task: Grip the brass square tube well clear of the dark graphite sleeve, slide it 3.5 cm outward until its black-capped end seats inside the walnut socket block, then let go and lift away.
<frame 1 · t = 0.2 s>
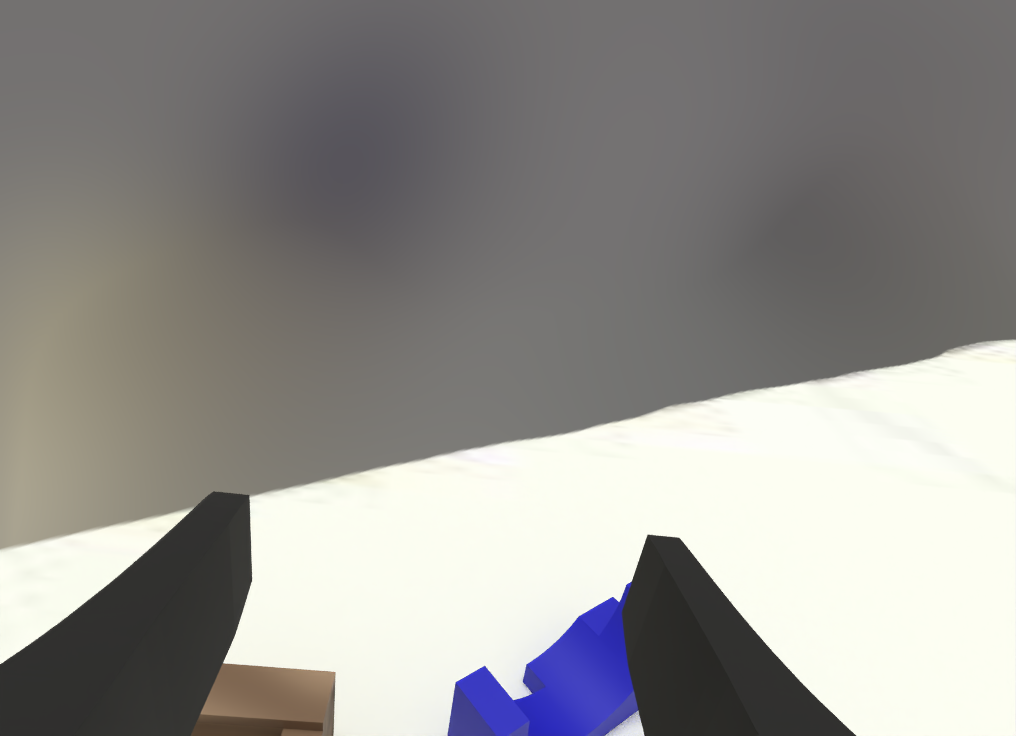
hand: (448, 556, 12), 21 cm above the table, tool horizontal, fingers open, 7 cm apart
cable clip: (550, 720, 34), on the table
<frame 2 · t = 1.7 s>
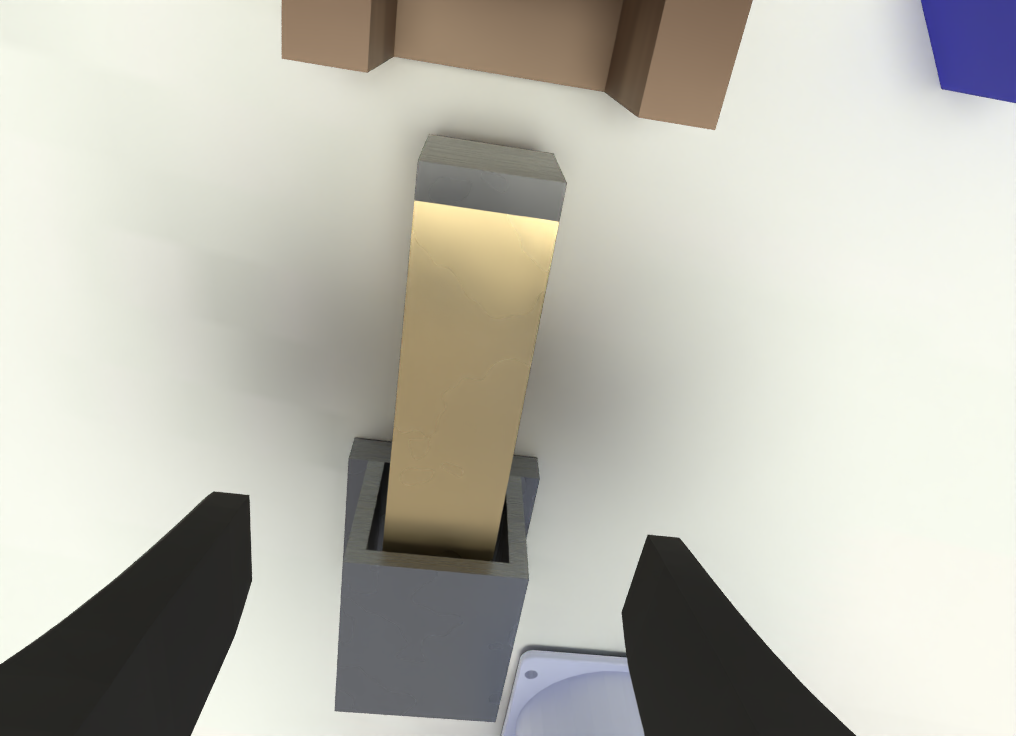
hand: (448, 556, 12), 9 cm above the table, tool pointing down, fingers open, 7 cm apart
sleeve: (437, 518, 23), on the table
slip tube: (453, 430, 18), point 3 cm above the table, slide at 0.0 cm
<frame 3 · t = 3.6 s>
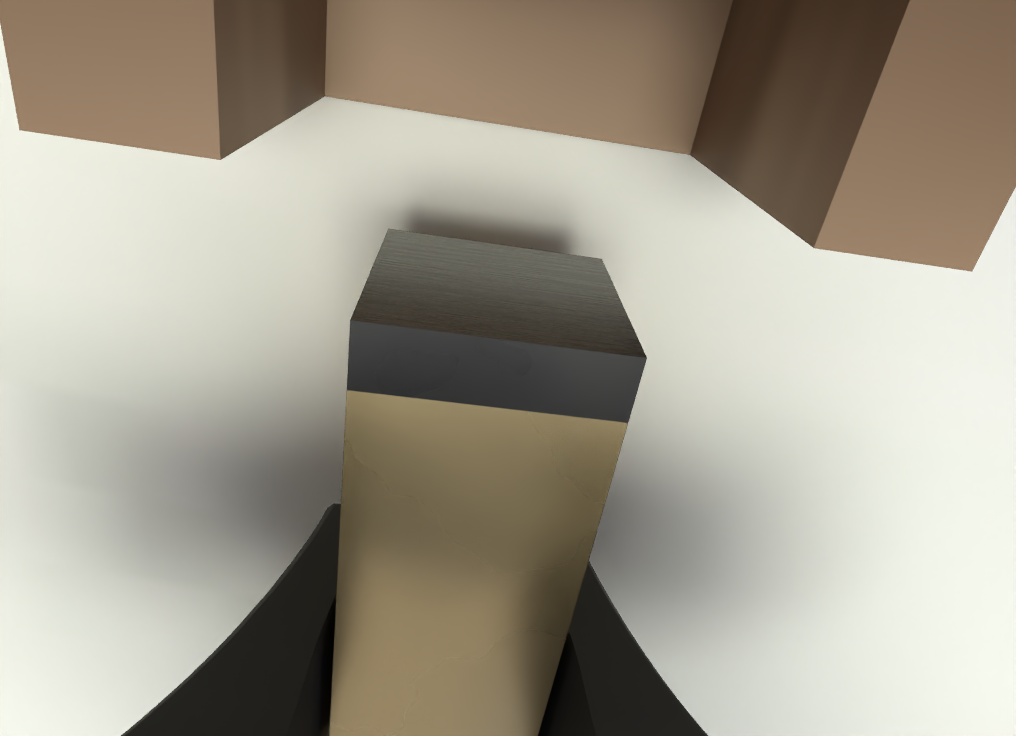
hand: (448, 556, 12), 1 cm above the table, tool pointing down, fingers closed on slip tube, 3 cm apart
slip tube: (435, 679, 11), point 3 cm above the table, slide at 0.0 cm, touching gripper
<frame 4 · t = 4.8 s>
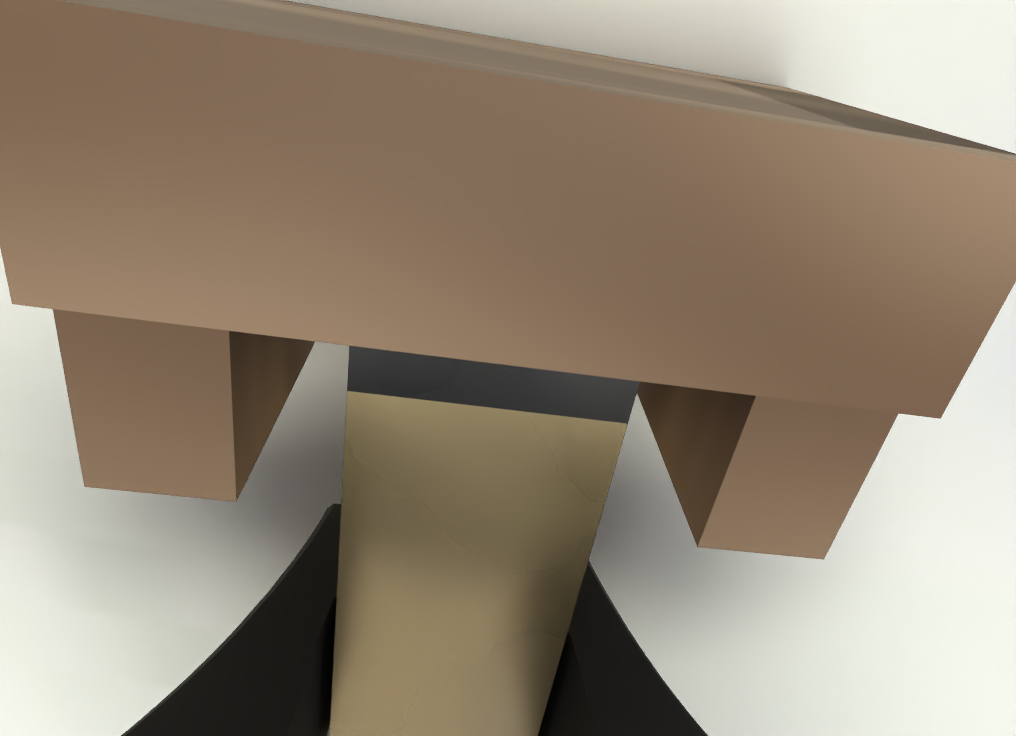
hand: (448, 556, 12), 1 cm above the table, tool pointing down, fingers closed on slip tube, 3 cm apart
socket block: (497, 198, 11), on the table
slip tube: (435, 679, 11), point 3 cm above the table, slide at 3.5 cm, touching gripper
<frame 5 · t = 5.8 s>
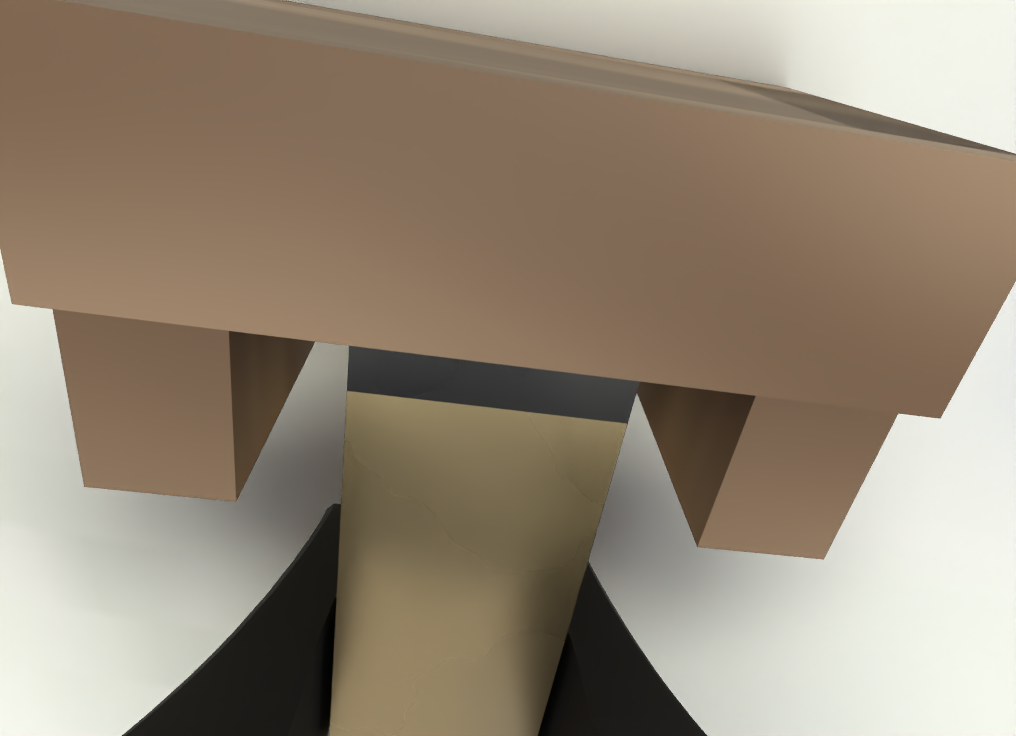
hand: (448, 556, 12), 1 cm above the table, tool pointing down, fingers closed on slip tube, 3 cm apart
socket block: (497, 198, 11), on the table
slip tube: (435, 679, 11), point 3 cm above the table, slide at 3.5 cm, touching gripper
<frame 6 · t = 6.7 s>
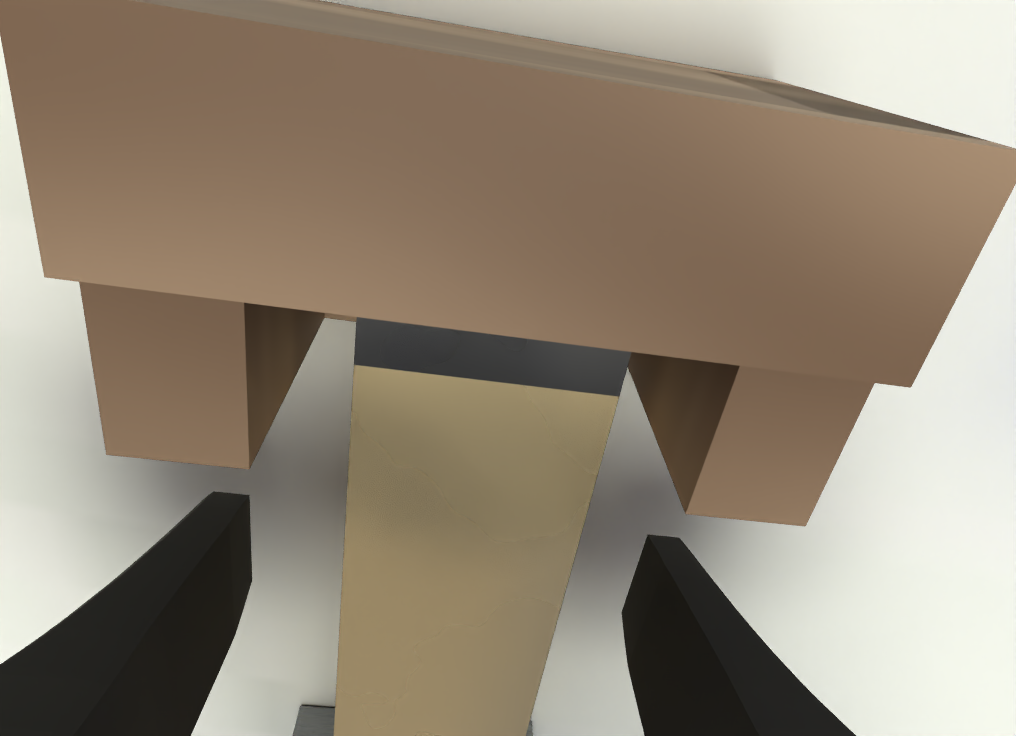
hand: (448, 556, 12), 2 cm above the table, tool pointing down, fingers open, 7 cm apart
socket block: (496, 187, 11), on the table
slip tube: (436, 651, 12), point 3 cm above the table, slide at 3.5 cm
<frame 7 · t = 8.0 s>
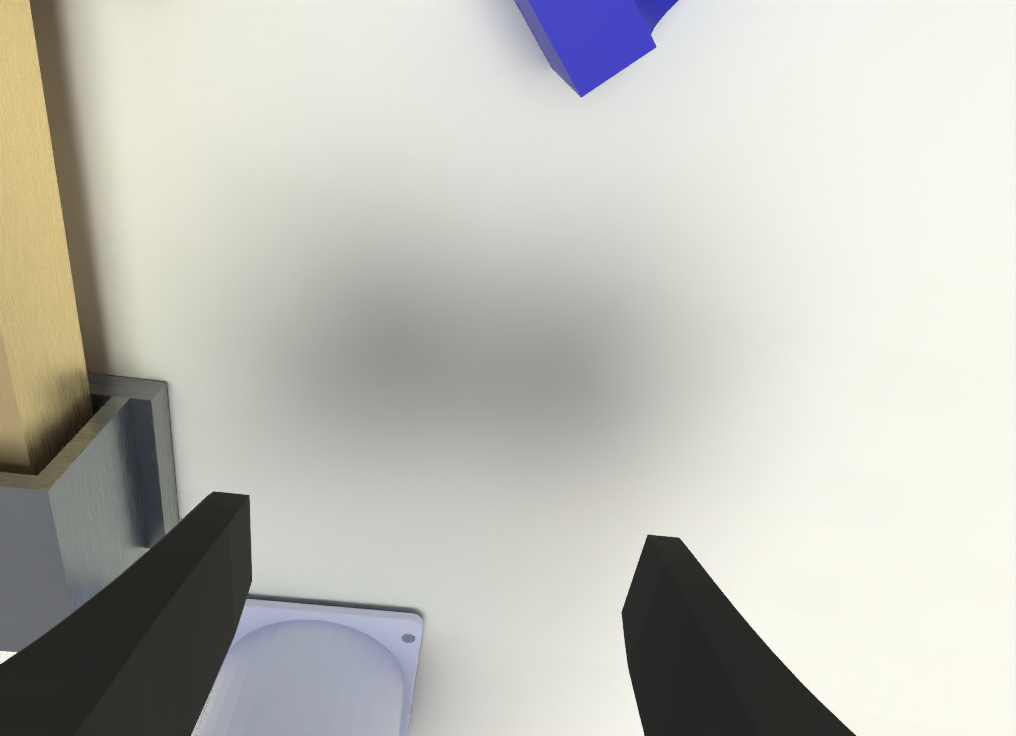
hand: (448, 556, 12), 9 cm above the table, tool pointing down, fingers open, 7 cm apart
sleeve: (78, 449, 22), on the table
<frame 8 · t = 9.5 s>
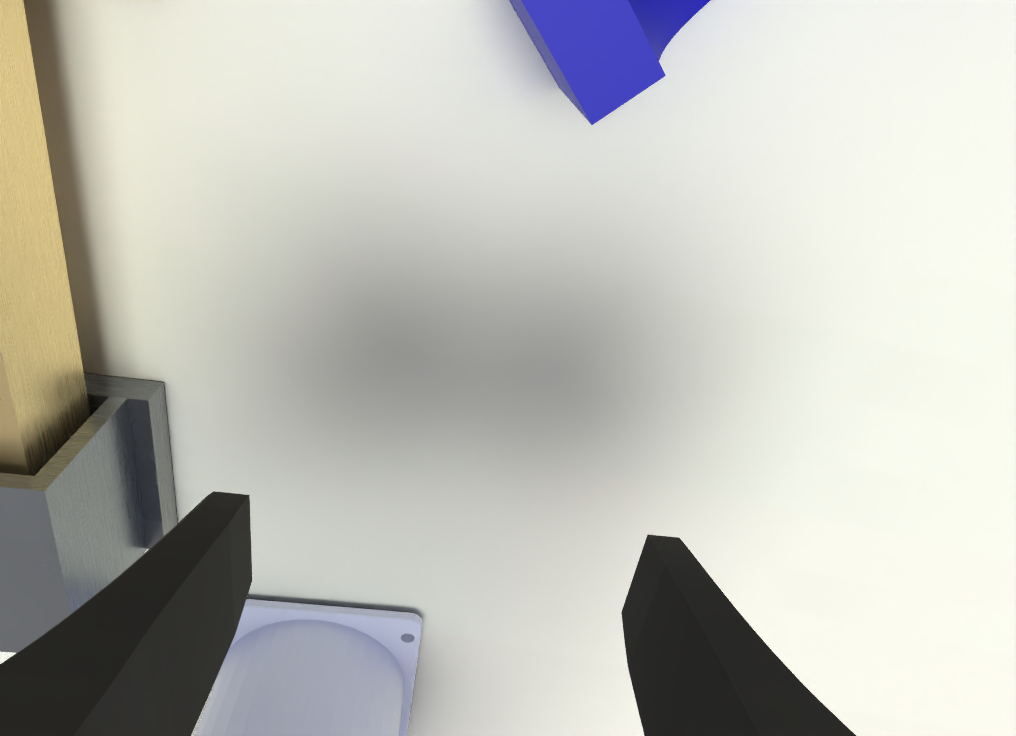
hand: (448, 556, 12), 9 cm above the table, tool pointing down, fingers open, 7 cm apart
sleeve: (76, 449, 22), on the table
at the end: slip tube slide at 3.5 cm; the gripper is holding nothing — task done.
